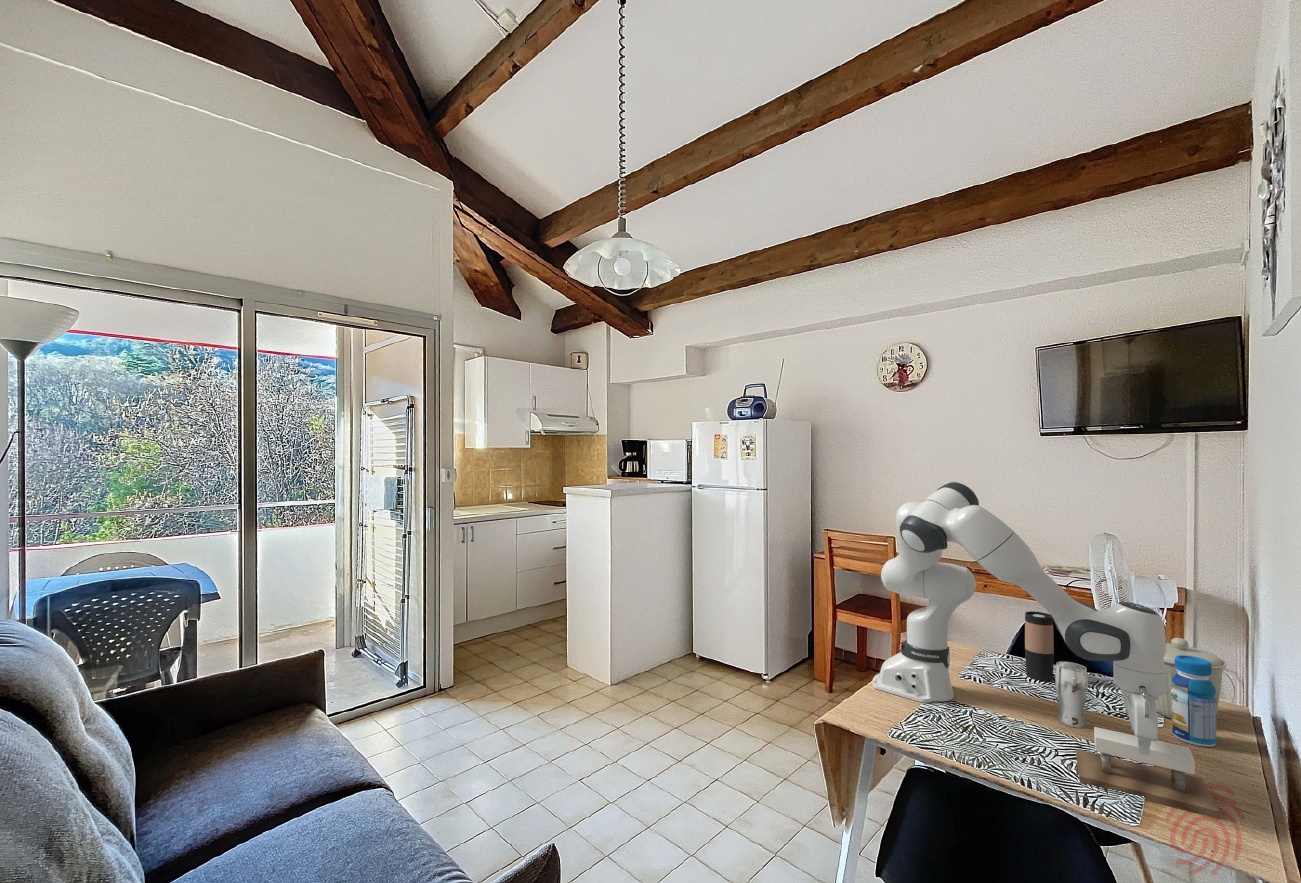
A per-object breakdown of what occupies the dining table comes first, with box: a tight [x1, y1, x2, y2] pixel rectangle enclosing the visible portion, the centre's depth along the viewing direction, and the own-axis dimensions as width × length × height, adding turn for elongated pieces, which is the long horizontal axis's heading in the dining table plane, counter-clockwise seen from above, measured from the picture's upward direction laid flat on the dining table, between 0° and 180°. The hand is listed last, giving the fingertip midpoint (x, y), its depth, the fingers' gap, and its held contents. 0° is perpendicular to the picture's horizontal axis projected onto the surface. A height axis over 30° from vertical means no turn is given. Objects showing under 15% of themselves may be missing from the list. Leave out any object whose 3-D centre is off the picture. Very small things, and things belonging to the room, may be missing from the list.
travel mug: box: [1024, 610, 1055, 682], centre depth 185 cm, size 8×8×20 cm
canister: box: [1155, 637, 1227, 720], centre depth 158 cm, size 18×18×21 cm
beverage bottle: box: [1171, 655, 1218, 748], centre depth 144 cm, size 8×8×20 cm
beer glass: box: [1054, 661, 1089, 729], centre depth 153 cm, size 7×7×15 cm
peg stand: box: [1075, 748, 1221, 820], centre depth 125 cm, size 22×14×6 cm, turn 56°
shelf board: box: [1093, 726, 1196, 776], centre depth 125 cm, size 6×16×3 cm, turn 55°
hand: (1140, 744), depth 125 cm, fingers open, 8 cm apart
